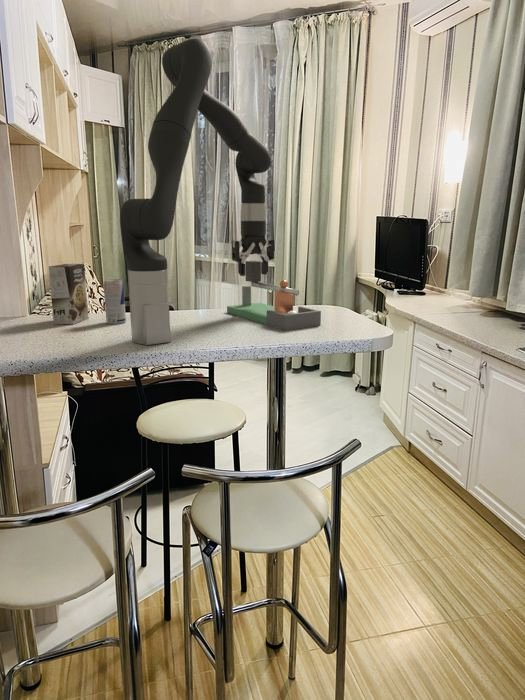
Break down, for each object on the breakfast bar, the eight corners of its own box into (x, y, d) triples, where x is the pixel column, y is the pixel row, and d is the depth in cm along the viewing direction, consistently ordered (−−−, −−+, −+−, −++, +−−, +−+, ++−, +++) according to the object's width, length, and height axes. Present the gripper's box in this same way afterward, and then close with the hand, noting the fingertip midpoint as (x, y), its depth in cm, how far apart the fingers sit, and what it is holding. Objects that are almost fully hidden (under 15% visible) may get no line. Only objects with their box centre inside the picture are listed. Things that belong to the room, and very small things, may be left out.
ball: (301, 308, 145) (293, 311, 148) (289, 309, 143) (281, 313, 146) (304, 322, 144) (296, 325, 148) (292, 323, 142) (284, 326, 146)
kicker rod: (303, 315, 145) (304, 266, 142) (289, 317, 142) (290, 267, 139) (256, 303, 164) (256, 260, 161) (243, 305, 162) (242, 261, 158)
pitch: (320, 325, 145) (321, 296, 143) (285, 330, 139) (286, 300, 137) (259, 308, 170) (259, 284, 168) (227, 312, 163) (226, 286, 161)
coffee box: (74, 324, 145) (69, 266, 141) (52, 324, 146) (47, 266, 142) (89, 318, 154) (85, 263, 150) (69, 317, 155) (64, 262, 151)
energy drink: (128, 320, 151) (125, 279, 148) (122, 324, 146) (119, 281, 143) (110, 320, 151) (107, 279, 148) (103, 324, 146) (100, 281, 143)
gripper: (239, 219, 148) (239, 277, 152) (280, 219, 156) (279, 274, 160) (225, 219, 154) (226, 275, 158) (266, 219, 162) (265, 272, 166)
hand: (253, 274), depth 159 cm, fingers open, 7 cm apart
